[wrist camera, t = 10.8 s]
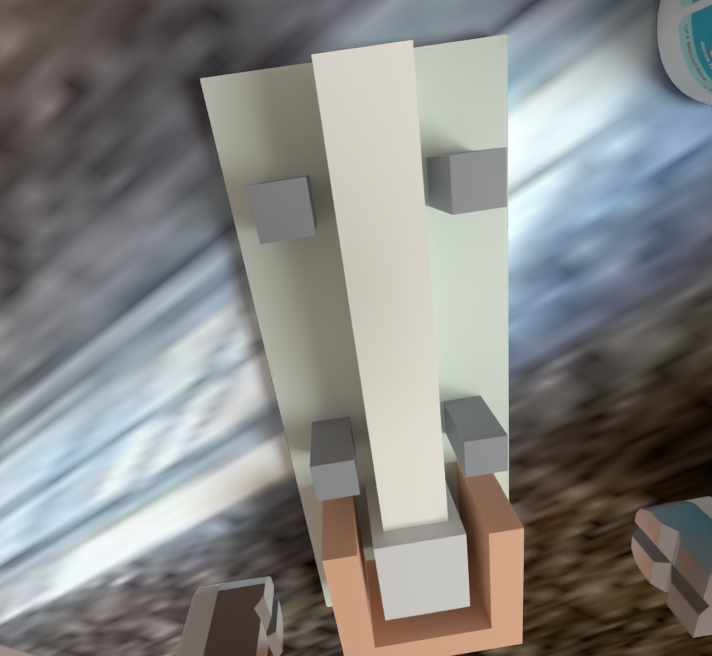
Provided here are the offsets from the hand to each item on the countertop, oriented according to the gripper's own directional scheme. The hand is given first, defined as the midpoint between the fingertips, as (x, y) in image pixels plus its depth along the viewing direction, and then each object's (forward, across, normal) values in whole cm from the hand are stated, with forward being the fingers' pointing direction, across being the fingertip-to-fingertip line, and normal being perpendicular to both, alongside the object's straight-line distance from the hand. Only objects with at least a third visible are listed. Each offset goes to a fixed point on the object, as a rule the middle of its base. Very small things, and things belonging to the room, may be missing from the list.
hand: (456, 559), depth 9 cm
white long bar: (+12, 0, +1) cm, 12 cm away
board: (+13, 0, +3) cm, 13 cm away
